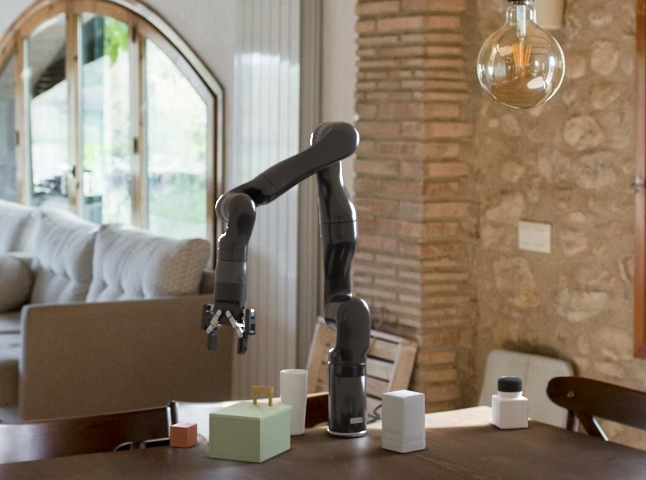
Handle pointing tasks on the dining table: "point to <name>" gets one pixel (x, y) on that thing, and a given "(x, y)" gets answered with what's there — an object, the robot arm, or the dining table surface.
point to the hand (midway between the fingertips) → (226, 352)
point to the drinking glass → (295, 397)
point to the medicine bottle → (509, 404)
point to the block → (183, 435)
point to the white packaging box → (403, 421)
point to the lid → (252, 407)
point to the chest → (249, 438)
